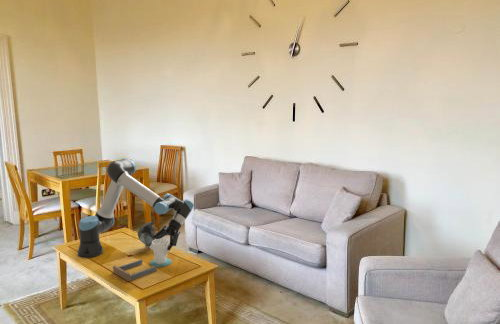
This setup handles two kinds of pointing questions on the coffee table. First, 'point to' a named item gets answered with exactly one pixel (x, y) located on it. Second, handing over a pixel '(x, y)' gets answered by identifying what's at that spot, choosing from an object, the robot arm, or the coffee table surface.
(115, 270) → the cup lane
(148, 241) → the grey rock
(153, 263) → the teal mat
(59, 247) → the coffee table surface
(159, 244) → the foam cup
